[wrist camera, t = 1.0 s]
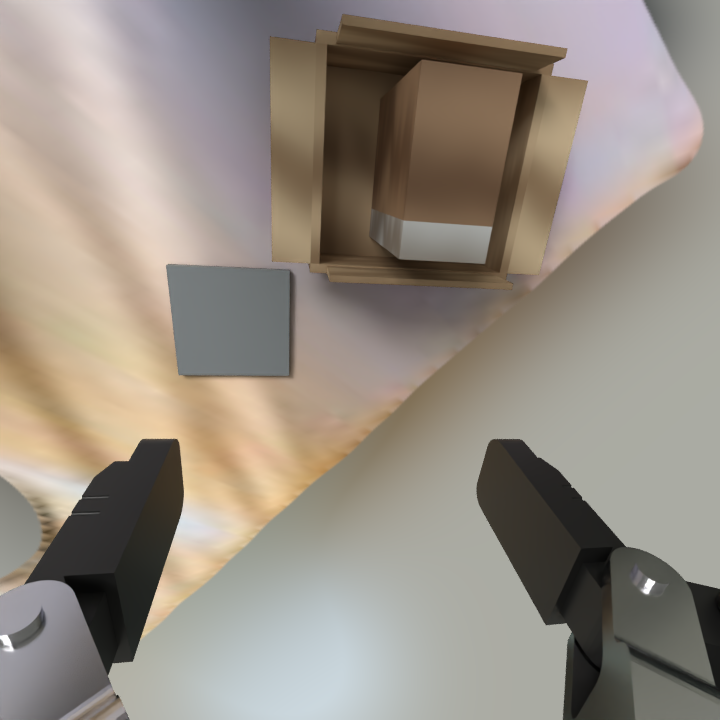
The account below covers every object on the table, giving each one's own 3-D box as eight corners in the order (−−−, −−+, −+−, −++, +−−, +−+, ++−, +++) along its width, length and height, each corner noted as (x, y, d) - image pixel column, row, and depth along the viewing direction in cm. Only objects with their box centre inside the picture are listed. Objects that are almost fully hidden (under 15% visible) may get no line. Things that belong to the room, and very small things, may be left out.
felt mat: (168, 264, 30) (166, 265, 30) (289, 269, 32) (289, 271, 31) (180, 371, 34) (178, 375, 33) (289, 372, 35) (288, 375, 35)
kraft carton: (274, 49, 26) (265, -1, 19) (545, 86, 29) (627, 55, 22) (275, 257, 31) (269, 280, 24) (505, 269, 34) (560, 293, 27)
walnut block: (380, 99, 27) (422, 59, 18) (450, 107, 28) (522, 73, 19) (369, 236, 31) (399, 259, 22) (431, 239, 32) (485, 263, 23)
